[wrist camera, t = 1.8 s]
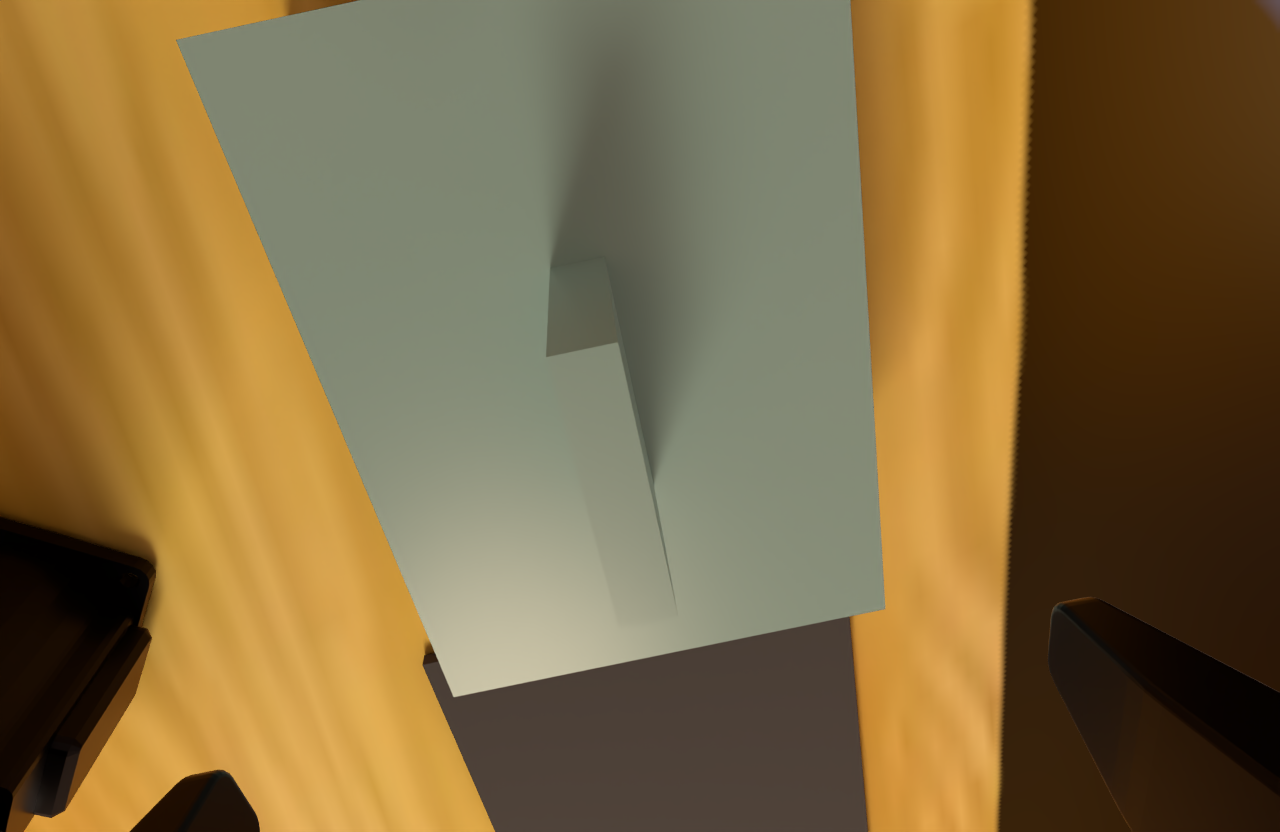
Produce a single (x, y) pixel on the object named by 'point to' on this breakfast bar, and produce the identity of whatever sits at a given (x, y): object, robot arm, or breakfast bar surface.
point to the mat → (674, 740)
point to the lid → (577, 307)
